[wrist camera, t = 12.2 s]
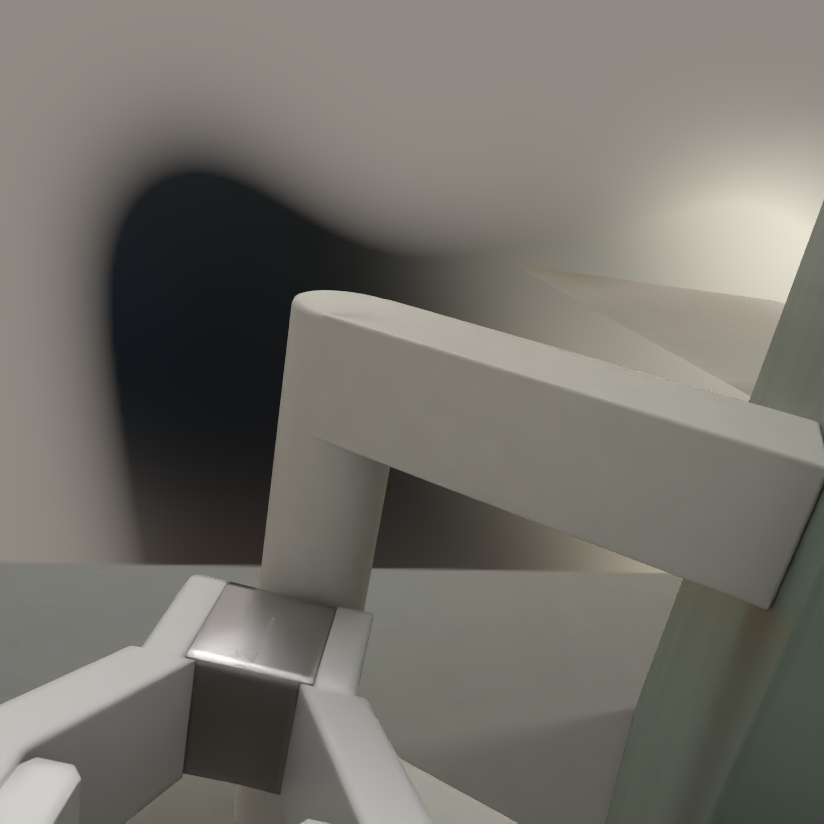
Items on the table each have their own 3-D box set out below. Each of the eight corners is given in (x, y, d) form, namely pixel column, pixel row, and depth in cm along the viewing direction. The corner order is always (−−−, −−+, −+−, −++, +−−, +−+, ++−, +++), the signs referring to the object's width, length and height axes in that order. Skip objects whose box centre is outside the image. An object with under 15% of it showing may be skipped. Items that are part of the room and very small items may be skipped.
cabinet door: (146, 1082, 13) (241, -338, 6) (470, 625, 26) (614, 49, 19) (528, 1414, 10) (1587, -470, 3) (666, 714, 24) (914, 85, 17)
